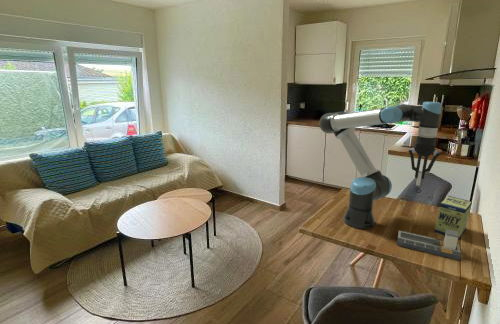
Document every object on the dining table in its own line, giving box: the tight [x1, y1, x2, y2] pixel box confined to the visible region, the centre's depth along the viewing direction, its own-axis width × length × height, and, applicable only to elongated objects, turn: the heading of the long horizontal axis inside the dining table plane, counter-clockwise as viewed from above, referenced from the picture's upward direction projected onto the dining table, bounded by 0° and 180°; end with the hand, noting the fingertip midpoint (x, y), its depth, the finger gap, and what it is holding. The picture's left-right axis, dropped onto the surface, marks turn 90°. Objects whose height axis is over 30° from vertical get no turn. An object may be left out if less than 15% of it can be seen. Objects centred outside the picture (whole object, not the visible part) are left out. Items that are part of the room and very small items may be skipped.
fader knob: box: [443, 229, 460, 250], centre depth 129 cm, size 4×5×7 cm
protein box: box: [434, 195, 473, 241], centre depth 146 cm, size 10×16×16 cm
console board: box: [396, 229, 462, 262], centre depth 134 cm, size 24×12×3 cm, turn 62°
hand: (418, 184), depth 141 cm, fingers closed
